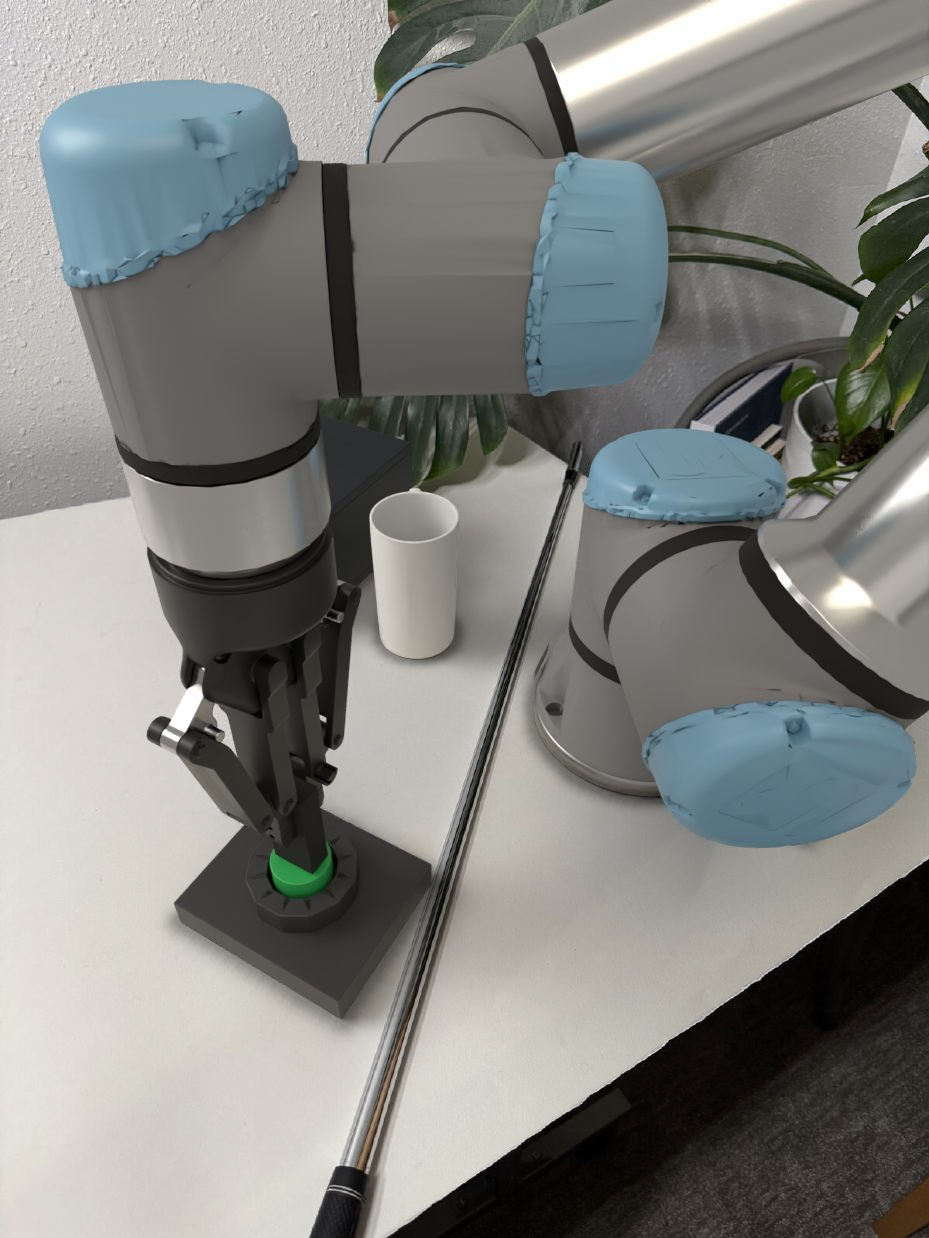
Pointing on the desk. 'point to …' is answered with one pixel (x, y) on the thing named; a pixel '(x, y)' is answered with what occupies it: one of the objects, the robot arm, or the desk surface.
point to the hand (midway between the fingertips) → (301, 854)
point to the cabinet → (360, 488)
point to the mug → (415, 571)
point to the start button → (300, 877)
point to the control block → (309, 911)
